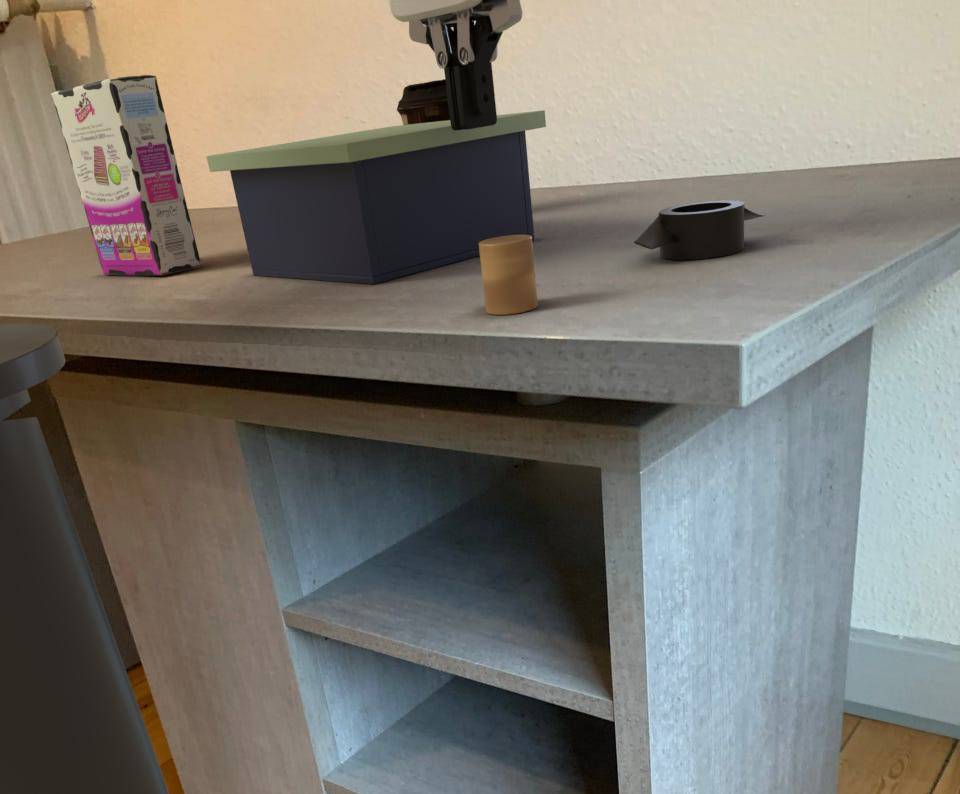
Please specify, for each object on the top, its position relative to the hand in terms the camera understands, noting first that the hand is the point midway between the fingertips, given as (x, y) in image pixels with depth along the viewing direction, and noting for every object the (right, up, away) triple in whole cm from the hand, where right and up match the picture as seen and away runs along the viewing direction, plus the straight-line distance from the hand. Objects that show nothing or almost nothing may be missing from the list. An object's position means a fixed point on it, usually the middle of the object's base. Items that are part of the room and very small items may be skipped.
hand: (474, 127), depth 72 cm
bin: (-7, -5, +13) cm, 16 cm away
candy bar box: (-32, -1, +25) cm, 41 cm away
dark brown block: (-2, +6, +31) cm, 32 cm away
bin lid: (-8, +3, +9) cm, 12 cm away
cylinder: (+2, -17, -12) cm, 21 cm away
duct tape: (+16, -10, -3) cm, 19 cm away
